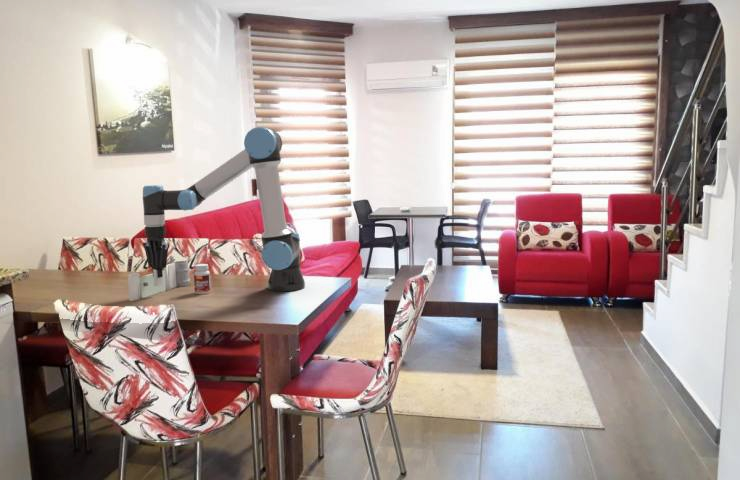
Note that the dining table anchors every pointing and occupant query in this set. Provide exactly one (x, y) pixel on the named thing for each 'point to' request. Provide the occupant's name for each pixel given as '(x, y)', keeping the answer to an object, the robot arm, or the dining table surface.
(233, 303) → the dining table surface
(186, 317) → the dining table surface
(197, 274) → the pill bottle
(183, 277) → the mug
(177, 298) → the dining table surface
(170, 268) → the frame
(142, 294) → the grey green panel
